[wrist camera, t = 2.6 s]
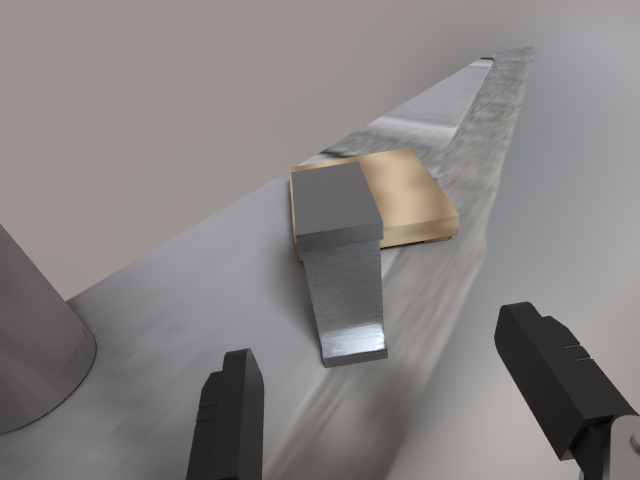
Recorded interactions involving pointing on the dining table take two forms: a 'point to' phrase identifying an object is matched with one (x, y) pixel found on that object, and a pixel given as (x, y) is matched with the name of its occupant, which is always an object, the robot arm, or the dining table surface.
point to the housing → (341, 260)
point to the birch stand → (400, 198)
